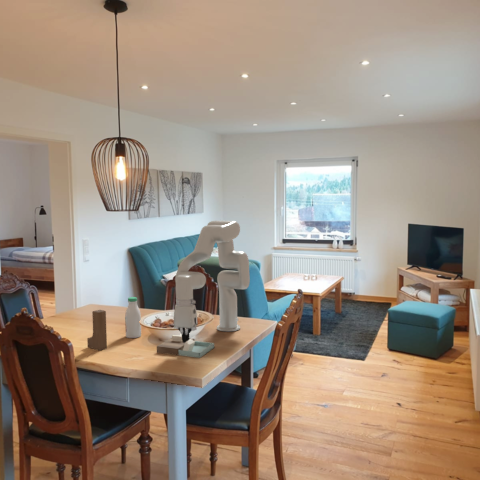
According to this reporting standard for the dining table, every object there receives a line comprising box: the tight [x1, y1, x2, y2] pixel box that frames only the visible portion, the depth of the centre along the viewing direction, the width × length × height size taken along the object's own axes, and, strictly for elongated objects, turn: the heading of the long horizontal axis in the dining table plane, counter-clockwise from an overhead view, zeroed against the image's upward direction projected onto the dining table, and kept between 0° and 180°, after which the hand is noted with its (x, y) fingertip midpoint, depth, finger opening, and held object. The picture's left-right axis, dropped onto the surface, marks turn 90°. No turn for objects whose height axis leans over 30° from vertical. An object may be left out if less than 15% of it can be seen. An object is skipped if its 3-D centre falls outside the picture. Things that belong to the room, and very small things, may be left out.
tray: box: [178, 340, 215, 359], centre depth 209 cm, size 15×11×2 cm
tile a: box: [171, 334, 182, 342], centre depth 217 cm, size 5×5×2 cm
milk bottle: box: [124, 296, 142, 339], centre depth 233 cm, size 8×8×20 cm
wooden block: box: [86, 309, 108, 351], centre depth 214 cm, size 9×4×18 cm, turn 54°
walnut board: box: [156, 337, 196, 356], centre depth 213 cm, size 16×11×3 cm
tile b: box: [183, 338, 196, 351], centre depth 206 cm, size 5×5×2 cm
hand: (185, 341), depth 207 cm, fingers closed
